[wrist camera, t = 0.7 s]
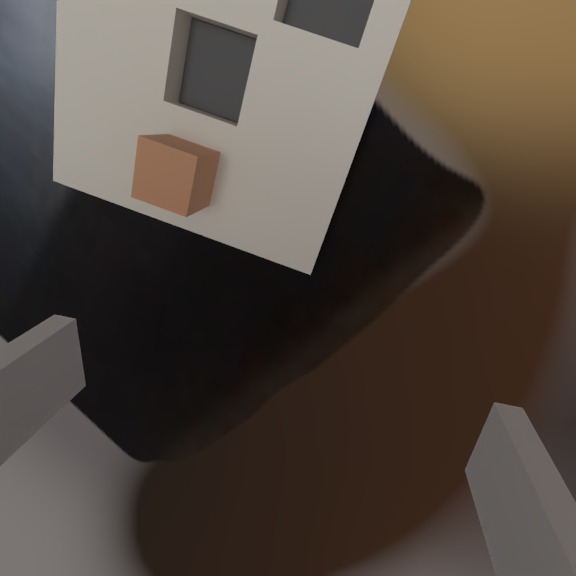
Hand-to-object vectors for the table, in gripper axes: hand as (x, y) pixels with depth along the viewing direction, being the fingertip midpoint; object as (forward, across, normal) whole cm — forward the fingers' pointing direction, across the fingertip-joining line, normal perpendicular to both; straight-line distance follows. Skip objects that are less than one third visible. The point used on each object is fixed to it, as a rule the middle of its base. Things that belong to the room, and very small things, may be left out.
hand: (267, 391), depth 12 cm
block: (+18, -10, +4) cm, 21 cm away
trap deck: (+20, -9, +10) cm, 24 cm away
